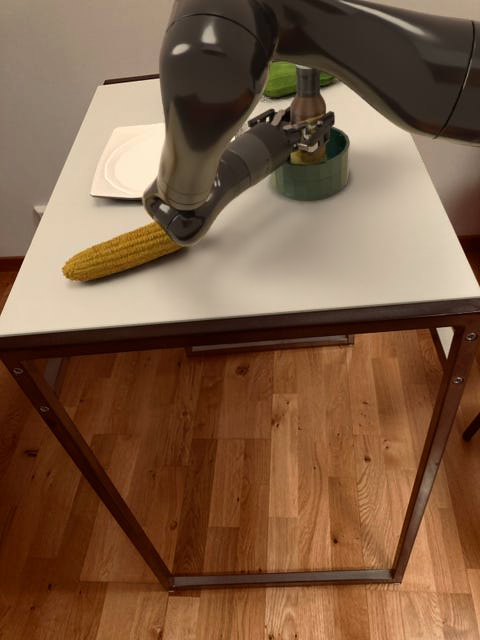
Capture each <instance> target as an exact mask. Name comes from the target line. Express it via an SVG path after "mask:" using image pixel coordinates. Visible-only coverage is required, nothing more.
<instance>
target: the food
mask: <svg viewBox="0 0 480 640" xmlns="http://www.w3.org/2000/svg"><path fill="white" fill-rule="evenodd" d="M184 247H185V246H179V245H177V244H176V243H175V242H173V241H172V240H171V239H170V237H169V236H168V235H167V234H166V233H165V232H164V231H163V230H162V229H161V228H160V226H159V225H158V224H157V223H156V222H155V221H153V222H149V223H148V224H145V225H144V226H140V227H138V228H136V229H134V230H133V229H132V230H131V231H128V232H125V233H121V234H120V235H117V236H115V237H112V238H111V239H109V240H106V241H102V242H100V243H97V244H95V245H92V246H91V247H88V248H86V249H84V250H82V251H80V252H78V253H76V254H74V255H73V256H72V257H69V259H68V261H65V262H64V263H65V264H64V265H63V266H62V267H61V273H62V276H65V279H68V280H69V281H72V282H74V281H76V282H86V281H91V280H96V279H99V278H103V277H107V276H110V275H113V274H115V273H119V272H123V271H125V270H129V269H132V268H134V267H137V266H141V265H143V264H146V263H148V262H151V261H153V260H156V259H158V258H160V257H163V256H164V255H169V254H171V253H175V252H177V251H178V250H180V249H183V248H184Z"/></svg>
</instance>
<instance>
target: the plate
mask: <svg viewBox="0 0 480 640" xmlns="http://www.w3.org/2000/svg"><path fill="white" fill-rule="evenodd" d="M234 139H236V135H235V136H234V137H233V139H232V140H231V142H232V141H233V140H234ZM164 140H165V122H159V123H152V124H151V123H150V124H139V125H128V126H117V127H116V128H114V129H113V131H112V133H111V135H110V137H109V139H108V142H107V143H106V145H105V147H104V149H103V151H102V154H101V156H100V158H99V160H98V163H97V165H96V166H97V167H96V170H95V173H94V175H93V180H92V184H91V187H90V193H89V195H90V196H91V197H92V198H96V199H97V198H99V199H109V200H111V199H112V200H127V201H142V195H143V193H144V191H145V189H146V188H147V187H148V186H149V185H150V184H151V183H152V182H153V181H154V179H155V178H156V176H157V175H158V169H159V162H160V157H161V152H162V147H163V143H164Z"/></svg>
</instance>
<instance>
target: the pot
mask: <svg viewBox="0 0 480 640" xmlns="http://www.w3.org/2000/svg"><path fill="white" fill-rule="evenodd" d="M350 153H351V141H350V138H349V135H348V134H346V133H345V132H344V131H343V130H342V129H340V128H337V127H335V126H334V125H333V126H332V127H330V140H329V142H328V143H326V150H325V161H324V162H321V163H315V164H293V163H291V154H290V155H289V157H288V158H287V160H286V162H285V163H284V164H283V165H282V166H280V167H279V168H278V169H276V170H275V171H274V172H272V173H271V174H270V178H271V185H272V188H273V189H274V191H275V192H276V193H278V194H279V195H281V196H282V197H284V198H287V199H290V200H294V201H301V202H302V201H303V202H309V201H310V202H311V201H318V200H323V199H327V198H329V197H332V196H334V195H336V194H337V193H339V192H340V191H341V190H343V189H344V187H345V186H346V185H347V183H348V181H349V174H350V158H351V157H350V156H351V155H350Z"/></svg>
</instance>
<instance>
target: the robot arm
mask: <svg viewBox="0 0 480 640" xmlns="http://www.w3.org/2000/svg"><path fill="white" fill-rule="evenodd" d="M272 61H275V62H288V63H293V64H297V65H301V66H305V67H309V68H313V69H316V70H319V71H321V72H324V73H326V74H328V75H330V76H333V77H334V78H336V79H335V80H338V81H339V82H340V83H342V84H344V85H345V86H346V87H347V88H349V89H350V90H351V91H353V92H354V93H355V94H356V95H357V96H358V97H360V98H361V99H362V100H363V101H364V102H366V104H368V105H369V106H370V107H371V108H373V109H374V110H375V111H376V112H377V114H379V115H381V116H382V117H383V118H385V119H386V120H387V121H388V122H390V123H391V124H393V125H394V126H395V127H397V128H399V129H401V130H402V131H404V132H406V133H408V134H411V135H413V136H417V137H419V138H424V139H427V140H433V141H437V142H443V143H449V144H454V145H460V146H465V147H471V148H480V20H476V19H469V18H463V17H462V18H461V17H455V16H447V15H438V14H431V13H427V12H422V11H416V10H411V9H407V8H403V7H398V6H393V5H388V4H384V3H380V2H379V3H378V2H375V1H370V0H174V1H173V5H172V8H171V12H170V15H169V19H168V22H167V25H166V29H165V32H164V36H163V39H162V41H161V45H160V50H159V56H158V74H159V87H160V96H161V103H162V104H161V105H162V111H163V117H164V123H165V140H164V143H163V147H162V152H161V157H160V162H159V169H158V175H157V176H156V178H155V179H154V181H153V182H152V183H151V184H150V185H149V186H148V187H147V188H146V189H145V191H144V193H143V195H142V200H141V203H142V206H143V208H144V210H145V212H146V214H147V215H148V216H149V217H150V218H151V219H152V220H153V222H156V223H157V224H158V225H159V226H160V228H161V229H162V230H163V231H164V232H165V233H166V234H167V235H168V236H169V237H170V239H171V240H172V241H173V242H175V243H176V244H177V245H179V246H184V247H191V246H194V245H196V244H197V243H199V242H200V241H201V240H202V239H203V238H204V237H205V236H206V235H207V234H208V231H209V230H210V228H211V227H212V226H213V224H214V223H215V221H216V219H217V218H218V217H219V215H220V214H221V213H222V212H223V210H224V209H225V208H226V207H227V206H228V205H229V204H230V203H231V202H232V201H234V200H235V199H236V198H238V197H239V196H241V195H242V194H243V193H245V192H246V191H247V190H249V189H251V188H252V187H254V186H256V185H258V184H259V183H261V182H262V181H263V180H265V179H266V178H267V177H269V176H271V173H272V172H274V171H275V170H276V169H278V168H279V167H280V166H282V165H283V164H284V163H285V162H286V160H287V158H288V157H289V155H290V154H291V153H293V152H296V151H298V150H300V149H302V150H306V151H307V155H308V156H314V155H315V154H316V153H317V152H318V151H319V150H320V149H321V148H322V147H323V146H324V145H325V144H326V143H328V142H329V140H330V127H332V126H333V127H334V126H335V124H336V115H335V111H331V110H329V111H327V112H326V114H325V115H323V116H322V117H321V118H319V119H318V120H317V121H314V122H311V123H308V122H307V121H304V122H301V123H298V124H290V117H291V116H290V106H288V107H286V108H285V109H282V108H281V109H279V110H277V111H276V110H275V108H269V109H267V110H265V111H263V112H261V113H260V114H258V115H255V116H254V117H253V118H250V116H251V115H252V113H253V111H254V110H255V109H256V107H257V106H258V104H259V102H260V101H261V99H262V97H263V93H264V90H265V87H266V84H267V80H268V76H269V71H270V67H271V63H273V62H272ZM249 118H250V119H249ZM248 119H249V120H248ZM267 119H268V121H267ZM246 122H247V129H248V130H246V131H245V132H243V133H242V134H240V135H239V136H237V137H236V135H237V133H238V132H239V131H240V130H241V129H242V127H243V126H244V124H245V123H246ZM313 128H316V132H315V133H312V134H311V129H313ZM301 129H304V137H303V139H302V131H301ZM234 136H235V139H234V140H233V141H232V142H231V140H232V139H233V137H234Z"/></svg>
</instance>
